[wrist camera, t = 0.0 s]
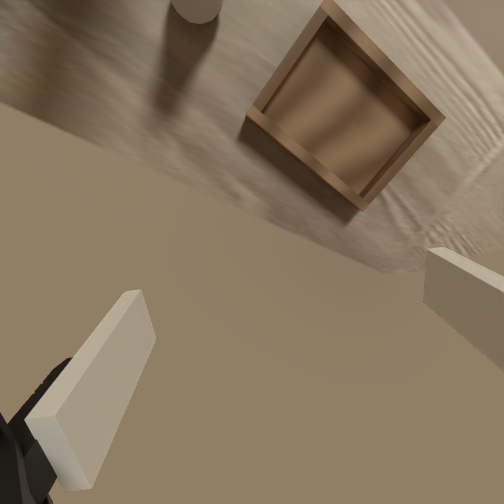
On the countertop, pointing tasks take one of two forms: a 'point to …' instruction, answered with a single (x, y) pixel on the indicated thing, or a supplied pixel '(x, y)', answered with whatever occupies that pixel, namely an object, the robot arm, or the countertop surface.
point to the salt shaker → (197, 9)
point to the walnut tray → (344, 108)
